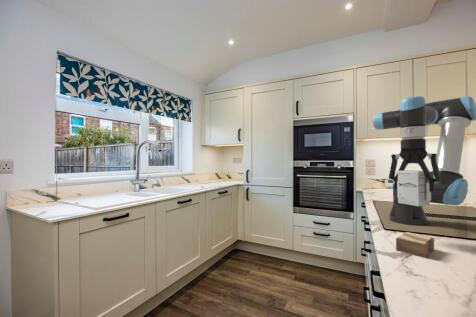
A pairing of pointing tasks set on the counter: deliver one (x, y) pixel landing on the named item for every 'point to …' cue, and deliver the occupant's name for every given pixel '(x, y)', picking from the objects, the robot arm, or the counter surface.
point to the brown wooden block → (415, 244)
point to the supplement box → (412, 188)
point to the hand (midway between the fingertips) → (413, 198)
